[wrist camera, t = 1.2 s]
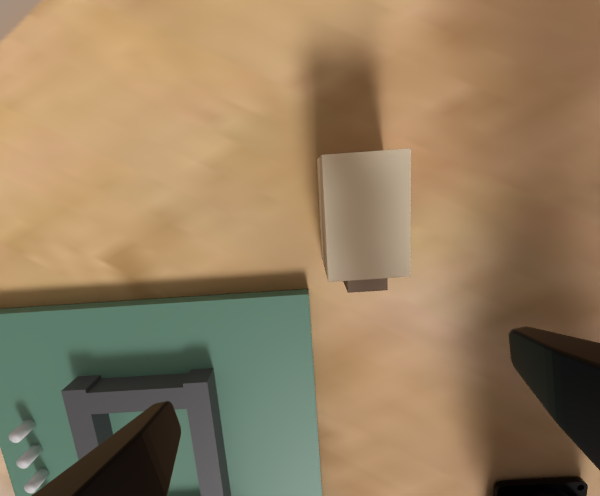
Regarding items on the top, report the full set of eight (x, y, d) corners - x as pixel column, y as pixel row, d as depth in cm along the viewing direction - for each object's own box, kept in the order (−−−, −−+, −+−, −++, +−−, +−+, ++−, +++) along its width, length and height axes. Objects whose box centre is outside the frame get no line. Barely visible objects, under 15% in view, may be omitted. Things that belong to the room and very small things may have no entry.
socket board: (308, 289, 21) (309, 303, 19) (325, 553, 26) (328, 592, 23) (-25, 310, 21) (-67, 327, 19) (51, 566, 26) (26, 607, 24)
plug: (383, 155, 19) (410, 148, 15) (384, 265, 21) (410, 292, 16) (316, 160, 20) (321, 154, 15) (322, 269, 21) (329, 297, 16)
